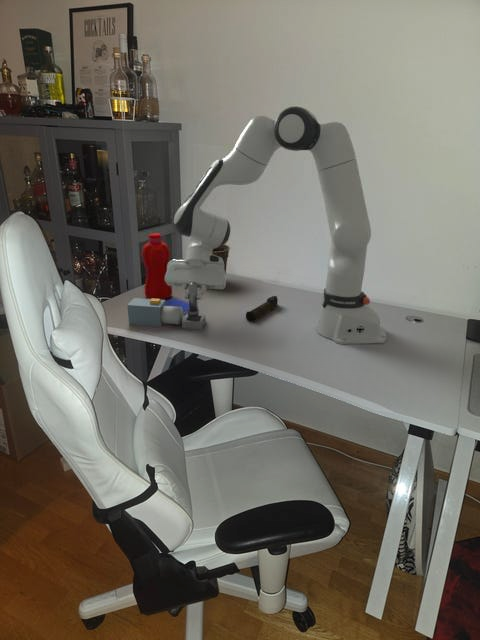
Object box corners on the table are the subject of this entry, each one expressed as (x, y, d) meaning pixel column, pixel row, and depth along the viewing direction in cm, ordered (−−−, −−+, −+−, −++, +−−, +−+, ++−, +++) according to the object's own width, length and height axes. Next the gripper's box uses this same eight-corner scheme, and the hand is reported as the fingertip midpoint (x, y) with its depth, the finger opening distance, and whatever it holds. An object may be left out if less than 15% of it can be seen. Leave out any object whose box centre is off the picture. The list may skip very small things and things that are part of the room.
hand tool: (254, 323, 140) (255, 311, 138) (245, 320, 143) (245, 308, 141) (283, 307, 154) (284, 296, 152) (274, 305, 157) (274, 293, 155)
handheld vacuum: (205, 321, 141) (205, 299, 137) (201, 329, 135) (201, 306, 131) (135, 316, 143) (133, 294, 140) (129, 324, 137) (126, 301, 134)
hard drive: (158, 303, 152) (181, 312, 145) (175, 297, 158) (198, 305, 151) (158, 307, 152) (181, 316, 145) (175, 301, 158) (198, 309, 151)
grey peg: (199, 312, 138) (199, 281, 133) (197, 317, 135) (197, 285, 130) (189, 312, 138) (188, 281, 134) (186, 316, 135) (185, 284, 130)
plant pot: (199, 276, 185) (199, 240, 178) (234, 279, 181) (234, 244, 175) (186, 287, 171) (185, 250, 164) (223, 292, 167) (223, 253, 160)
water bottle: (153, 290, 167) (148, 229, 156) (175, 295, 162) (172, 232, 152) (138, 297, 159) (132, 233, 149) (161, 303, 155) (157, 237, 144)
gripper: (166, 254, 136) (159, 292, 131) (227, 258, 134) (222, 296, 129) (170, 263, 142) (163, 300, 137) (228, 267, 140) (223, 304, 135)
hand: (192, 298), depth 133 cm, fingers closed on grey peg, 3 cm apart
